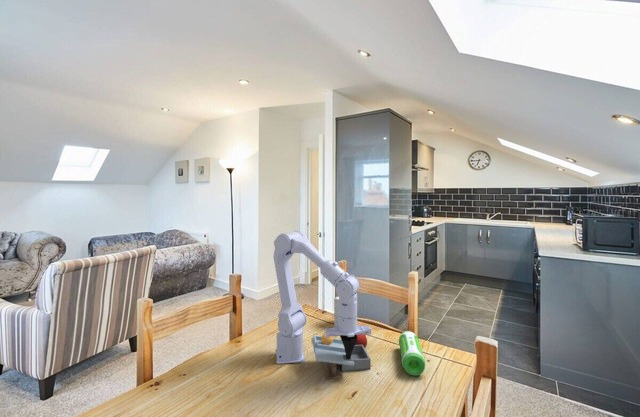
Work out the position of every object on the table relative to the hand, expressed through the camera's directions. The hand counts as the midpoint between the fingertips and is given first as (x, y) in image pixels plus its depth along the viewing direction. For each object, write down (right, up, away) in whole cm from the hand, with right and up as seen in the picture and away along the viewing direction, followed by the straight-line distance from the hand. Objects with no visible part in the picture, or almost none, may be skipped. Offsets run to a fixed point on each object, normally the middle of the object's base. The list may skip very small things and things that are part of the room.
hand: (348, 357), depth 95 cm
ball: (-7, +3, +6) cm, 9 cm away
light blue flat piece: (-5, 0, +3) cm, 6 cm away
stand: (-5, -5, +3) cm, 8 cm away
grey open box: (+2, -5, +7) cm, 9 cm away
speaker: (+22, -6, +8) cm, 24 cm away
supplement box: (+2, -4, +35) cm, 36 cm away
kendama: (+5, -5, +22) cm, 23 cm away
